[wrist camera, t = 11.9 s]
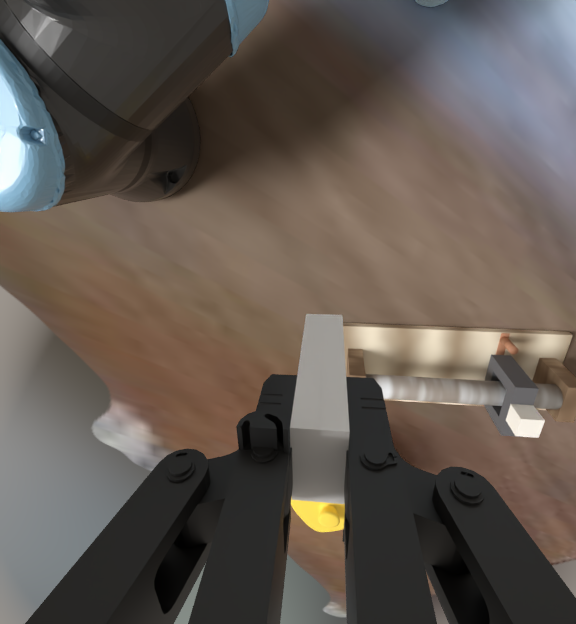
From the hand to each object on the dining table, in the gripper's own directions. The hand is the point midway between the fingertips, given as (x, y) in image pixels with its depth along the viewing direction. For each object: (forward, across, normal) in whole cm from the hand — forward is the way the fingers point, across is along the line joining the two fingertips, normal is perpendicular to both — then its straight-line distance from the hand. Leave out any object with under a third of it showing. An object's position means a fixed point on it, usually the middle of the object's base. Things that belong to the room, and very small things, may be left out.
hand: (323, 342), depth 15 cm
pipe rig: (+31, +17, -21) cm, 41 cm away
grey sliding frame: (+28, +23, -21) cm, 42 cm away
